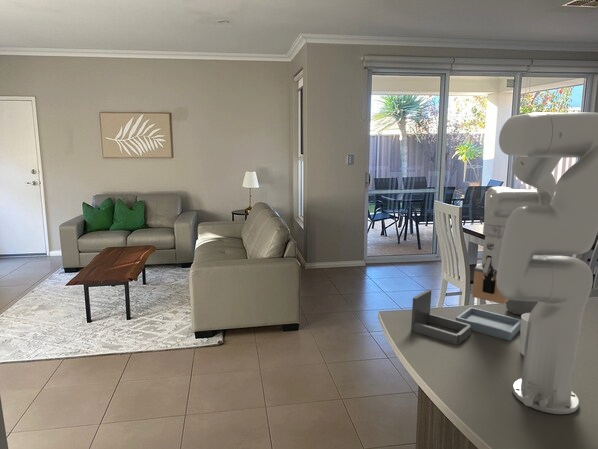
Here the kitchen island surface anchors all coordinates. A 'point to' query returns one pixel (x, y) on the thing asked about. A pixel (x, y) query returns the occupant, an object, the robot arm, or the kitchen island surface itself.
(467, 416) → the kitchen island surface
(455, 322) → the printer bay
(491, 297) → the block
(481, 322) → the tray
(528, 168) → the robot arm
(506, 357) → the kitchen island surface
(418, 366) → the kitchen island surface
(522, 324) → the white cup
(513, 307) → the smart speaker
